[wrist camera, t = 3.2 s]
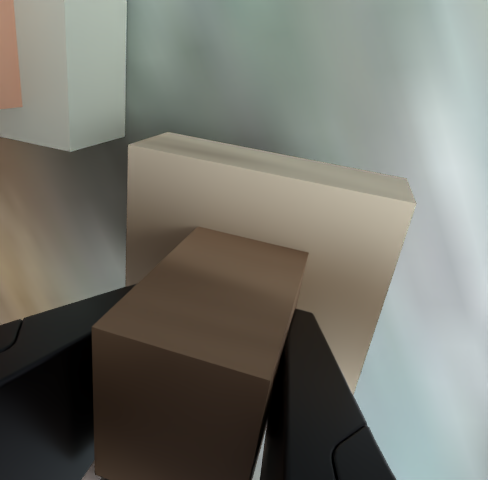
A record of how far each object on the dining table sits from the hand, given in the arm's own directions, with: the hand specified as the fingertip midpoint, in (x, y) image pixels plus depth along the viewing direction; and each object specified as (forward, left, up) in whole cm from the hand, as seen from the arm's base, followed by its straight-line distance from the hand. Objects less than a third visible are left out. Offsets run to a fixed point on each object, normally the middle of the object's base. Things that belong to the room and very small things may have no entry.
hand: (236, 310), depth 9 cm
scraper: (0, 0, -3) cm, 3 cm away
